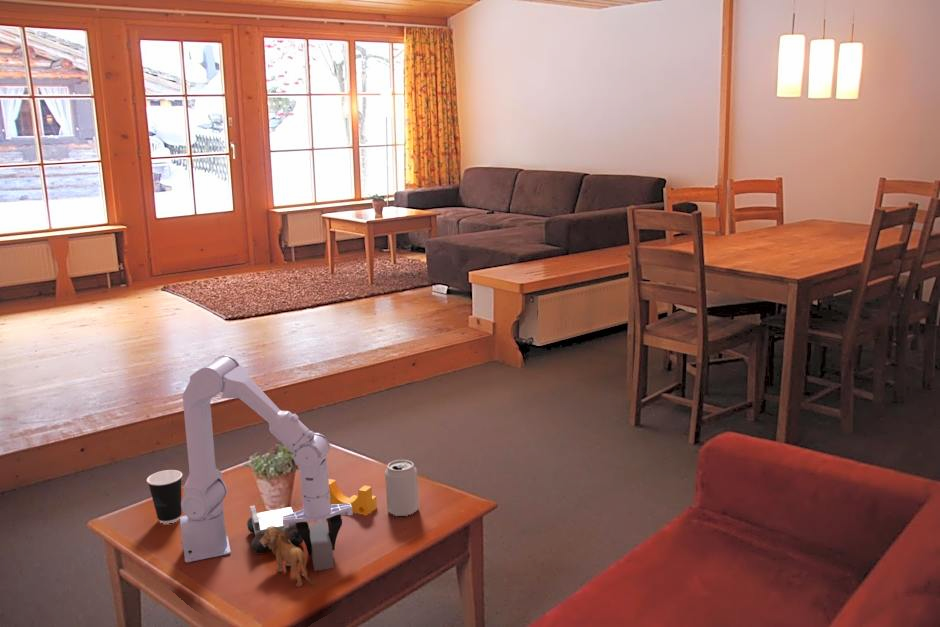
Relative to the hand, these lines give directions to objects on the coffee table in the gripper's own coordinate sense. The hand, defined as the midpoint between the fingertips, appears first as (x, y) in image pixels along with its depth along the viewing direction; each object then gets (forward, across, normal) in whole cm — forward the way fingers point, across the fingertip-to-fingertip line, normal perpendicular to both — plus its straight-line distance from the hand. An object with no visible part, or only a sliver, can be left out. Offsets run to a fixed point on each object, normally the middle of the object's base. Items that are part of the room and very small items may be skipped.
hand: (320, 550), depth 182 cm
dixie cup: (+2, -30, +32) cm, 44 cm away
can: (+2, +22, +13) cm, 26 cm away
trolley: (+1, -8, +12) cm, 14 cm away
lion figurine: (+2, -8, -4) cm, 9 cm away
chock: (+1, 0, 0) cm, 1 cm away
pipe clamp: (+2, +11, +20) cm, 23 cm away
